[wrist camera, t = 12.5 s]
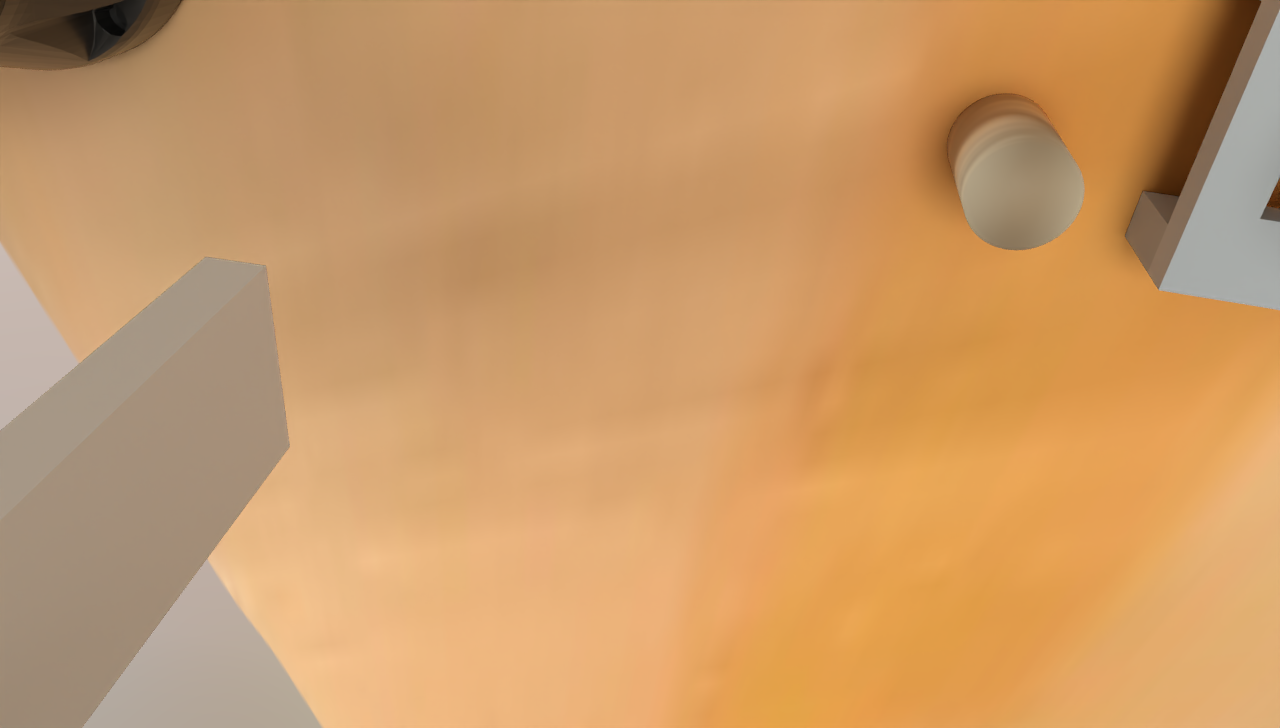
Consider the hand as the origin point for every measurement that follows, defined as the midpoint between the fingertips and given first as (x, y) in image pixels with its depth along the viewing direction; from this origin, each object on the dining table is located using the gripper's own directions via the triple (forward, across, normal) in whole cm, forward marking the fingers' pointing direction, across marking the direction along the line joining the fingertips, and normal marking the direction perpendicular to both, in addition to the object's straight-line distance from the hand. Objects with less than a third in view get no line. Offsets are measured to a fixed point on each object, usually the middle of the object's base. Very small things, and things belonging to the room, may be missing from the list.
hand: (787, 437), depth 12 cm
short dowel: (+30, +9, -6) cm, 32 cm away
